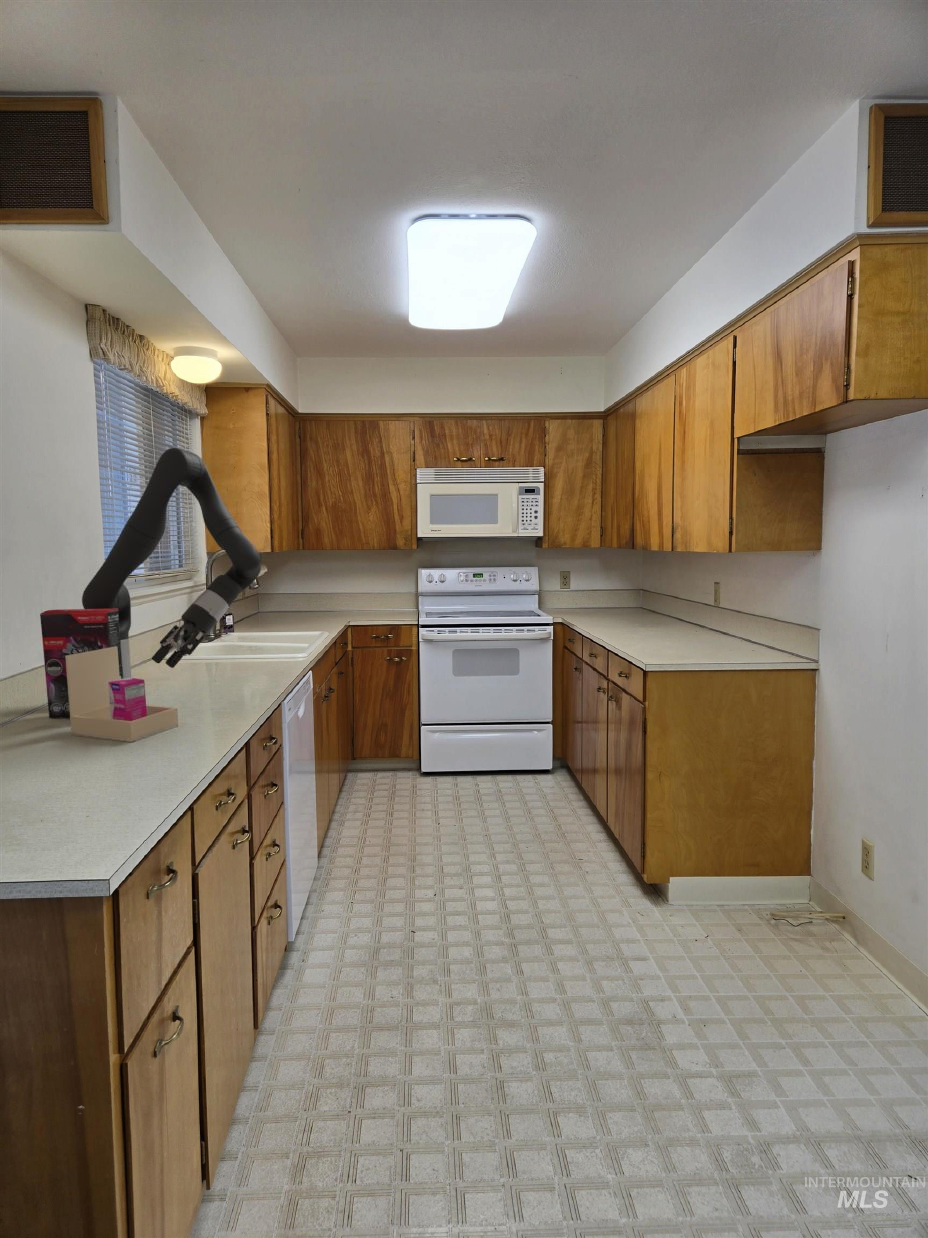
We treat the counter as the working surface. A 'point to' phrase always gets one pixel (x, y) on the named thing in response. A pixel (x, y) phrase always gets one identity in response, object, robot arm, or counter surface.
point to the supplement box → (127, 699)
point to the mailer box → (106, 700)
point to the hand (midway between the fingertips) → (161, 663)
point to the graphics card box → (74, 647)
